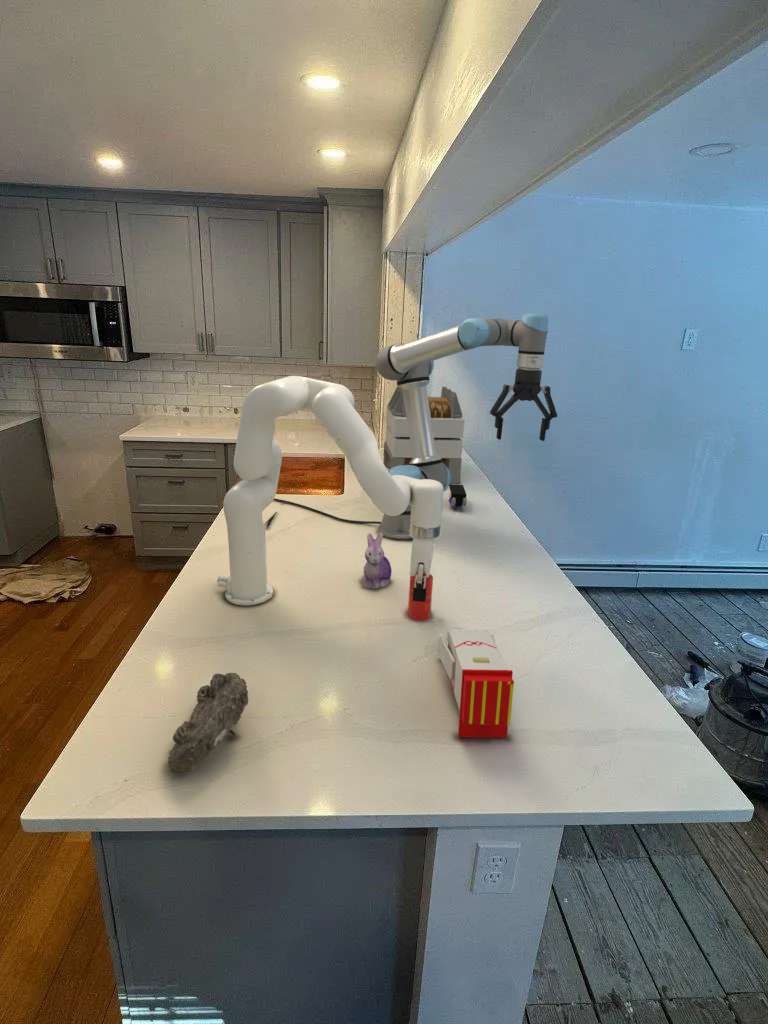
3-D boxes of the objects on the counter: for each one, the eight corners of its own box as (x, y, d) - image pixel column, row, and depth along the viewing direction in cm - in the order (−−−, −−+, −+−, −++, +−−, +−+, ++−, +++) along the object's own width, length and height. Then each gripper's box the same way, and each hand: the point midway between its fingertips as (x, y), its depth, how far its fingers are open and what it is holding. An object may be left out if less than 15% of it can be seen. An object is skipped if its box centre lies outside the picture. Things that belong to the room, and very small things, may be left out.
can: (403, 612, 148) (405, 574, 145) (420, 606, 152) (423, 569, 148) (416, 622, 144) (419, 584, 140) (434, 616, 147) (437, 578, 143)
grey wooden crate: (382, 463, 289) (386, 382, 275) (445, 464, 293) (451, 384, 279) (390, 482, 257) (394, 392, 243) (460, 483, 261) (468, 394, 247)
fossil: (194, 673, 113) (248, 641, 108) (227, 704, 116) (281, 674, 111) (142, 765, 94) (204, 730, 89) (183, 800, 97) (246, 768, 92)
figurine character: (467, 515, 225) (461, 499, 238) (469, 498, 221) (463, 482, 235) (450, 514, 224) (445, 498, 238) (452, 497, 221) (447, 482, 234)
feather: (284, 506, 225) (286, 502, 224) (266, 530, 198) (268, 525, 198) (280, 504, 225) (282, 500, 224) (261, 527, 198) (264, 523, 197)
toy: (488, 613, 130) (523, 677, 101) (484, 667, 133) (517, 744, 104) (435, 612, 130) (455, 676, 101) (432, 666, 133) (451, 743, 103)
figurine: (369, 592, 157) (371, 543, 152) (354, 577, 166) (355, 529, 161) (399, 586, 162) (402, 538, 157) (383, 572, 170) (385, 525, 165)
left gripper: (413, 516, 148) (409, 578, 154) (405, 541, 132) (401, 609, 138) (442, 519, 147) (437, 581, 153) (437, 544, 131) (432, 613, 137)
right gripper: (490, 368, 163) (483, 440, 170) (575, 371, 165) (564, 443, 172) (484, 365, 170) (477, 435, 178) (565, 369, 172) (555, 437, 179)
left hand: (420, 594), depth 146 cm, fingers closed on can, 5 cm apart
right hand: (520, 439), depth 175 cm, fingers open, 13 cm apart
